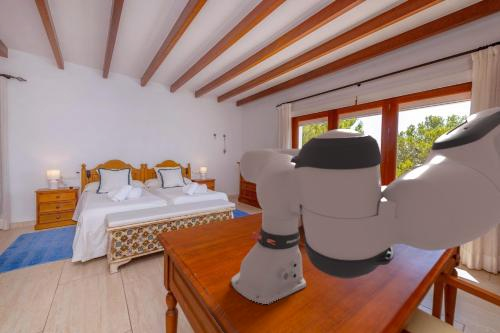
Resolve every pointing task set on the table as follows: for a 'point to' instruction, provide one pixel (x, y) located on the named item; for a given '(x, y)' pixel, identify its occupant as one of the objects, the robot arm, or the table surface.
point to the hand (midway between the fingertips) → (416, 174)
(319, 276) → the table surface
